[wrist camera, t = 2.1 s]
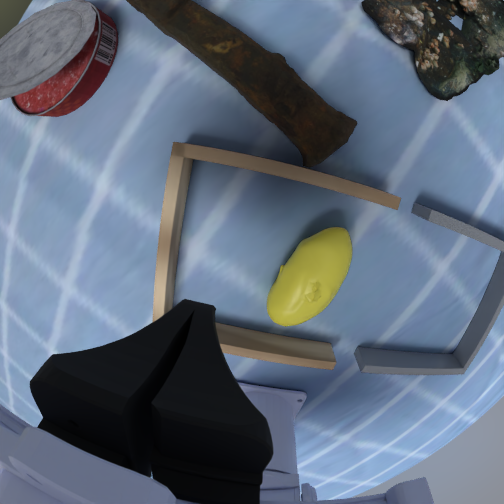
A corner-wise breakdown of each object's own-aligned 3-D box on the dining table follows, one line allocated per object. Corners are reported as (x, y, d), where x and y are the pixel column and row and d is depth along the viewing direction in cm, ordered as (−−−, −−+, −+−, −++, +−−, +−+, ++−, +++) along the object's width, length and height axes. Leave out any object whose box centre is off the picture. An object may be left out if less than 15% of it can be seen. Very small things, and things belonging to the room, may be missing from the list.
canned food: (62, 66, 19) (5, 18, 9) (142, 23, 17) (88, -49, 7) (30, 159, 17) (-55, 117, 8) (116, 118, 15) (13, 32, 6)
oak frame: (327, 350, 22) (332, 369, 20) (162, 317, 22) (152, 334, 20) (385, 191, 18) (400, 197, 16) (184, 143, 17) (173, 142, 15)
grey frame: (453, 360, 23) (463, 374, 21) (354, 353, 23) (361, 372, 20) (508, 243, 18) (524, 252, 16) (414, 202, 18) (431, 209, 16)
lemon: (250, 293, 21) (247, 322, 17) (319, 206, 19) (332, 220, 15) (294, 321, 22) (299, 352, 18) (362, 242, 19) (382, 262, 16)
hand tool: (348, 132, 17) (373, 126, 13) (305, 169, 18) (319, 174, 14) (166, -21, 13) (147, -50, 9) (128, 11, 14) (101, -13, 10)
